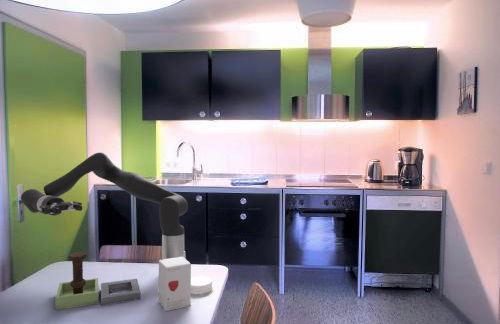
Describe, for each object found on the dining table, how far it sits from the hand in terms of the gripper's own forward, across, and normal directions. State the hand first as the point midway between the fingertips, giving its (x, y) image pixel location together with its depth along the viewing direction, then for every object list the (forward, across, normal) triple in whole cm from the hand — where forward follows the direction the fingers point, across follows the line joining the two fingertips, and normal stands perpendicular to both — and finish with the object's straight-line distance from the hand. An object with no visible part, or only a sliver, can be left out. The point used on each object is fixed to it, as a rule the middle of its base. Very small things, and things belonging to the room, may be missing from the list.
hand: (70, 209), depth 136 cm
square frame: (+21, +8, +30) cm, 37 cm away
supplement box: (+42, +15, +30) cm, 54 cm away
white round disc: (+40, +29, +30) cm, 58 cm away
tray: (+12, -4, +30) cm, 33 cm away
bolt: (+12, -4, +29) cm, 32 cm away
